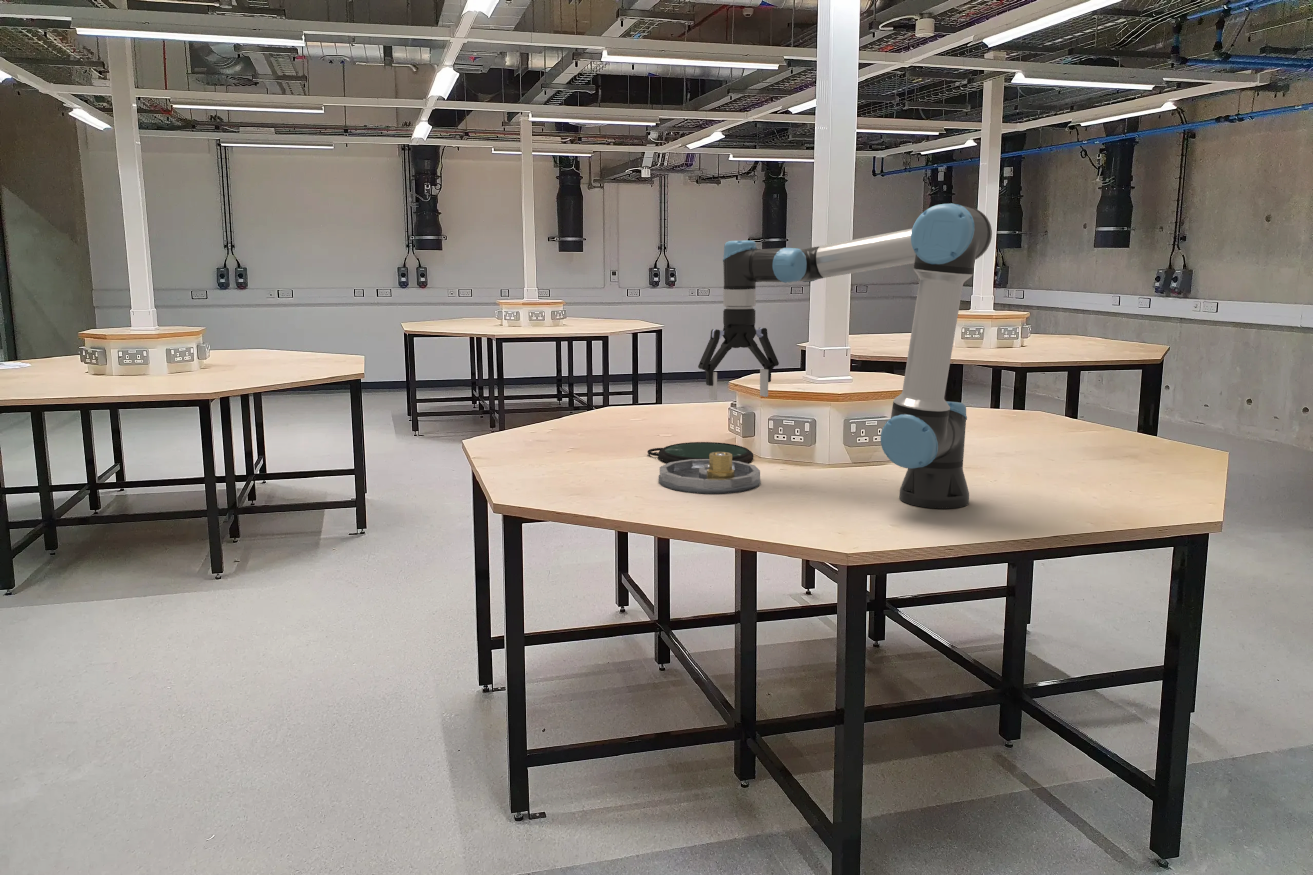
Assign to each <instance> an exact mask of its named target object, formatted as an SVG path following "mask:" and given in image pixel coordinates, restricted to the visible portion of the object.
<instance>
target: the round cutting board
mask: <svg viewBox="0 0 1313 875" xmlns="http://www.w3.org/2000/svg"><path fill="white" fill-rule="evenodd" d="M712 452H728V453H731V454H732V461H740V462H743V463H747V464H749V462H751V461H752V460H754V452H752V451H751V450H750V449H748V448H746V447H744V446H741V445H737V444H735V443H734V444H733V443H727V442H726V443H725V442H714V441H713V442H711V441H695V442H694V441H690V442H681V443H675V444H670V445H666V446H664V447H654V448H650V449H648V450H647V454H648V455H650V456H653V457H654V456H656V457H658V459H659V460H660V461H661V462H664V463H666V464H667V463H669V462H675V461H682V460H689V459H709V454H710V453H712Z"/></svg>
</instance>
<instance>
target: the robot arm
mask: <svg viewBox="0 0 1313 875" xmlns="http://www.w3.org/2000/svg"><path fill="white" fill-rule="evenodd" d="M991 225H992V224H991V222H990V221H989V219H988V217H987V215H985V214H984V213H983V212H982V211H981V210H979V209H977V208H975V207H970V206H966V205H961V204H957V203H951V202H950V203H942V204H935V205H933V206H930V207H929V208H927V209H925V210H924V211H923V212H922V213H921V214H919V215H918V217H917V218H916V220H915V222H914V223H913V226H912V228H907V229H902V230H898V231H892V232H887V233H881V234H876V235H872V236H865V237H861V238H860V237H859V238H855V239H850V240H847V241H846V240H845V241H840V242H834V243H828V244H824V245H820V246H819V245H818V246H813V247H808V248H807V247H806V248H797V247H796V248H795V247H782V248H781V247H779V248H757V243H756V241H754V240H729V241H726V242H725V244H724V247H723V259H722V263H723V293H722V294H723V297H722V298H723V301H722V302H723V307H725V308H724V309H723V310H722V313H723V315H722V318H723V319H722V320H723V322H722V323H723V329H722V330H719V329H716V328H712V329H711V330H710V337H709V340H708V341H707V342H708V343H707V344H706V347H705V350H704V352H703V353H702V356H701V358H700V361H699V363H698V365H697V367H698V369H700V370H703V371H704V372H705V383H706V386H708V399H709V400H713V401H717V400H718V372H717V371H715V370H716V368H718V366H719V365H720V363H721V362H722V361H723V359H724V358H725V356H726V355H727V354H728V353H729V351H731V349H739V348H747V349H749V351H750V352H751V353H752V355H753V356H754V357H755V358H756V360H757V361H758V362H759V364H760V365H761V367H762V368H760V369H759V396H760V397H764V398H767V397H769V383H771V381H772V370H774V368H775V367H778V366H779V365H780V362H779V360H778V358H777V355H776V353H775V351H774V349H773V347H772V343H771V342H770V339H769V337H768V329H767V328H766V327H758V328H756V327H755V325H756V310H755V308H754V307H755V306H756V299H757V298H756V294H757V292H756V288H757V287H756V286H757V283H785V284H788V283H795V282H803V283H810V282H814V281H815V282H816V281H817V280H821V279H822V280H823V279H827V278H831V277H836V276H837V277H838V276H844V275H851V274H856V273H861V272H862V273H863V272H868V271H875V270H880V269H887V268H891V267H892V268H893V267H899V266H904V265H905V266H906V265H912V264H913V271H914V273H915V275H917V277H918V279H919V282H918V287H917V292H916V300H915V308H914V313H913V314H914V315H913V321H912V327H911V333H910V340H909V345H908V351H907V353H908V354H907V358H906V359H907V360H906V364H905V365H906V367H905V371H904V372H905V373H904V380H903V384H902V389H901V390H902V391H901V393H900V394H899V395H897V396H896V397H894V399H893V402H892V409H891V412H890V418H889V419H888V420H887V421H886V422H885V424H884V426H883V427H882V429H881V432H880V445H881V448H882V451H883V453H884V455H886V458H888V460H889V461H890V462H892V463H893V464H894V465H896V466H898V467H900V468H903V469H907V470H906V473H905V476H904V478H903V480H902V482H901V485H900V488H899V498H898V499H899V500H900V501H901V502H903V503H905V504H908V505H912V506H916V507H922V508H927V509H928V508H930V509H943V510H944V509H946V510H947V509H959V508H963V507H966V506H968V505H969V503H970V491H969V488H968V484H967V479H966V478H965V474H964V456H965V455H964V454H965V440H966V426H967V420H968V417H967V406H966V405H965V404H964V403H963V402H960V401H959V402H958V401H947V400H946V399H945V395H946V390H947V383H948V378H949V372H950V371H949V370H950V366H951V358H952V352H953V347H954V341H955V335H956V328H957V323H958V317H959V316H958V315H959V310H960V304H961V298H962V293H963V286H964V283H965V282H966V281H968V280H969V279H970V278H972V277H973V274H974V269H975V262H976V260H978V259H980V257H981V256H983V255H984V254H985V253H986V251H987V250H988V249H989V246H990V244H991V241H992V238H993V237H992V236H993V231H992V230H993V228H992V226H991ZM756 336H757V337H758V340H759V342H760V344H761V345H760V346H761V347H762V349H763V352H764V353H765V354H764V353H763V352H762V350H761V348H759V346H758V344H757V342H756V341H755V340H754V338H756ZM722 337H723V339H724V340H723V341H722V342H721V344H720V347H719V348H718V350H717V352H716V349H717V347H718V344H719V343H720V340H721V339H722ZM715 352H716V353H715ZM714 353H715V354H714Z"/></svg>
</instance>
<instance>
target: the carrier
mask: <svg viewBox="0 0 1313 875" xmlns="http://www.w3.org/2000/svg"><path fill="white" fill-rule="evenodd" d="M717 455H725V454H723V453H718V454H717ZM708 469H709V459H689V460H682V461H675V462H669V463H666V464H663V465H661V466H659V475H658V484H659V485H660V486H662V487H663V488H666V489H669V490H672V491H676V492H680V493H681V492H682V493H689V494H699V495H701V494H702V495H722V494H723V495H726V494H736V493H744V492H747V491H752V490H755V489H757V488H758V487H759V486H760V485H761V470H760V469H759V468H758V467H757V466H756V465H755V464H750V463H743V462H740V461H732V469H733V470H734V478H726V479H707V470H708Z"/></svg>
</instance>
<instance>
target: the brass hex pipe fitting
mask: <svg viewBox="0 0 1313 875" xmlns="http://www.w3.org/2000/svg"><path fill="white" fill-rule="evenodd" d="M718 453H723V454H725V455H717V454H718ZM726 478H734V470H733V469H732V454H731V453H728V452H712V453H710V454H709V469H708V470H707V479H726Z"/></svg>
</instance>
